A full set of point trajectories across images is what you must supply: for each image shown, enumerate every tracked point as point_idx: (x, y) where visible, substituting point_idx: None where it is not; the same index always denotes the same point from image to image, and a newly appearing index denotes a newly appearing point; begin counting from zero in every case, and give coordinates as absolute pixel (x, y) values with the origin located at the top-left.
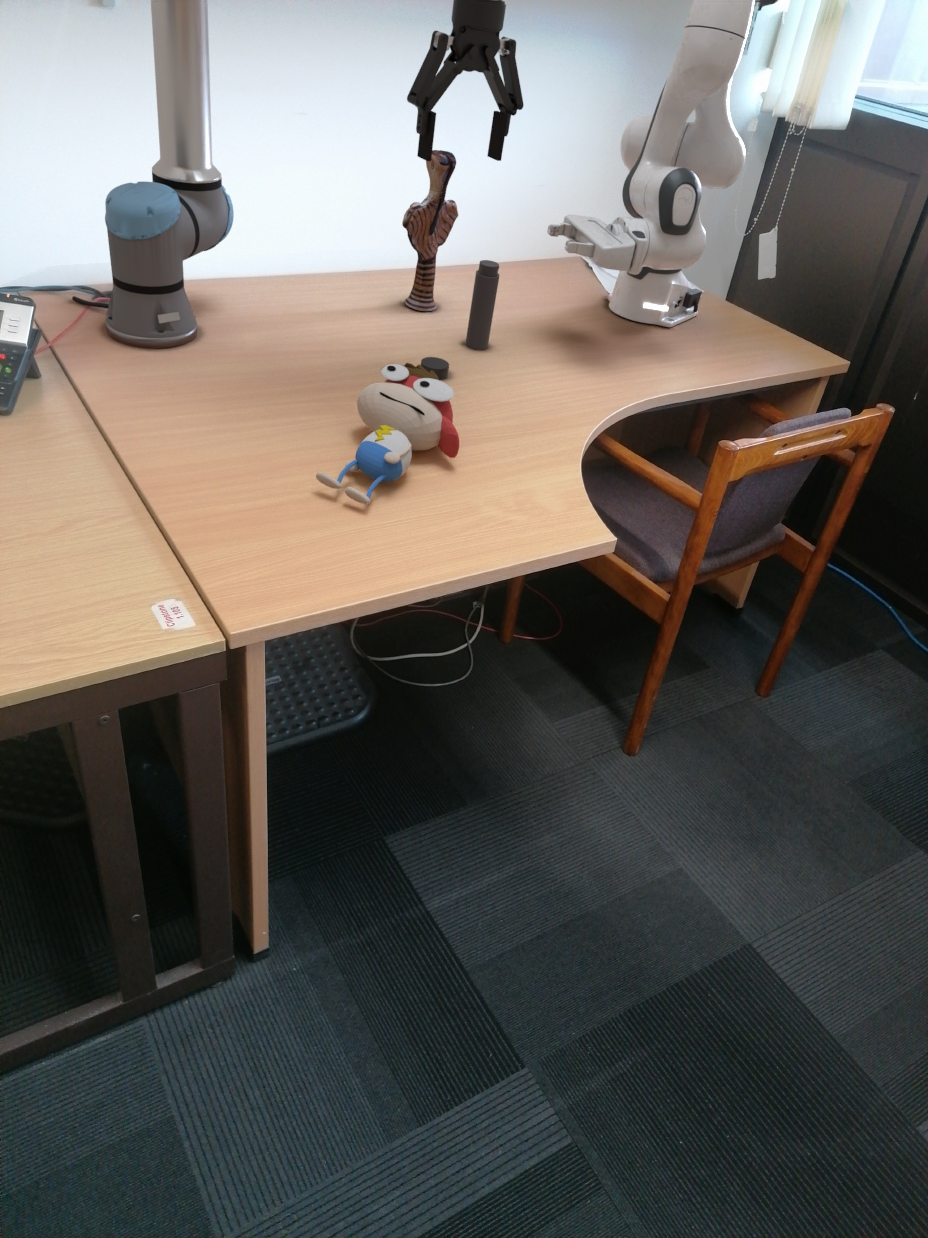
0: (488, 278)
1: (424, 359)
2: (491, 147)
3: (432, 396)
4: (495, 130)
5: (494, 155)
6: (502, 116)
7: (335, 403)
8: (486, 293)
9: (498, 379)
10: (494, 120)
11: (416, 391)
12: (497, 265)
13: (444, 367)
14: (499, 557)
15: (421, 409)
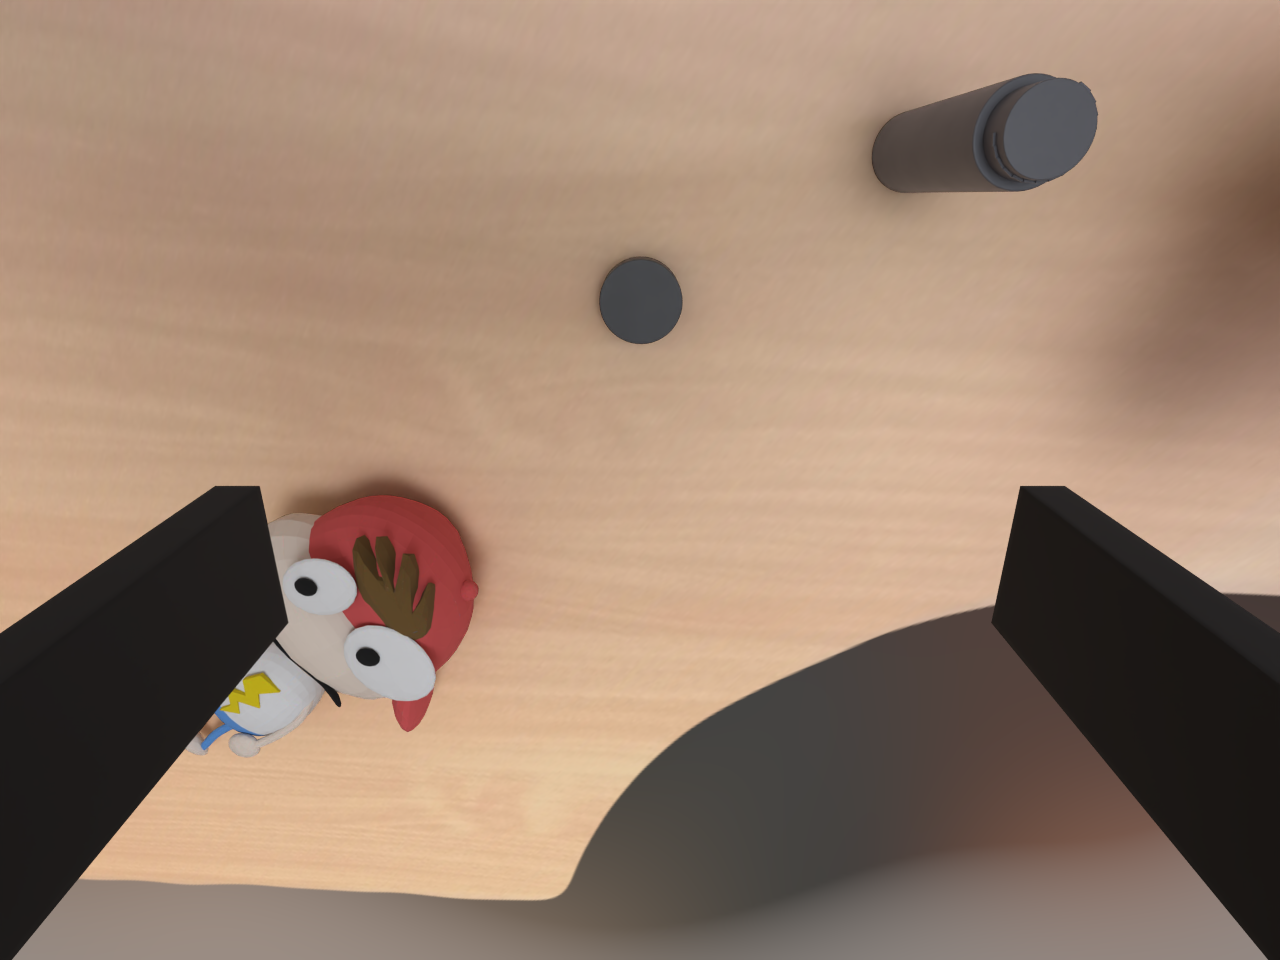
0: (986, 183)
1: (622, 272)
2: (1056, 564)
3: (371, 688)
4: (1159, 689)
5: (1012, 595)
6: (1276, 931)
7: (297, 369)
8: (960, 185)
9: (798, 386)
10: (1252, 725)
11: (345, 657)
12: (1065, 166)
13: (649, 339)
14: (373, 880)
15: (341, 689)
